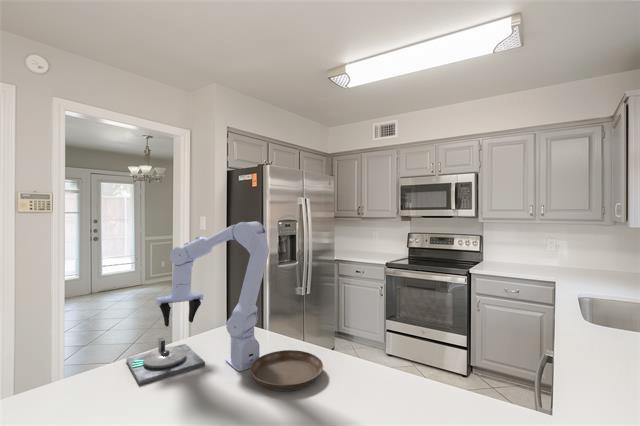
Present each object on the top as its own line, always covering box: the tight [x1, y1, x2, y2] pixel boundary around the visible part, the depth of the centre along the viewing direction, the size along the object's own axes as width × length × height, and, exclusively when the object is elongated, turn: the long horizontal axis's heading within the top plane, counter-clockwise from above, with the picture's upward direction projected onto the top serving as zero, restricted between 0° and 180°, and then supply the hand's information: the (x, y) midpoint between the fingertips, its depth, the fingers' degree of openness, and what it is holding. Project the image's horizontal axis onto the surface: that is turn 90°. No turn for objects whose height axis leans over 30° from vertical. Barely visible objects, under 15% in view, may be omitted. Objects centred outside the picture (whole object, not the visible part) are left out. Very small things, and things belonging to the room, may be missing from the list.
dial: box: [143, 337, 186, 368], centre depth 103 cm, size 12×12×5 cm
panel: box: [125, 343, 206, 386], centre depth 103 cm, size 18×18×2 cm
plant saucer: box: [250, 349, 324, 392], centre depth 96 cm, size 21×21×3 cm
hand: (178, 323), depth 110 cm, fingers open, 7 cm apart
